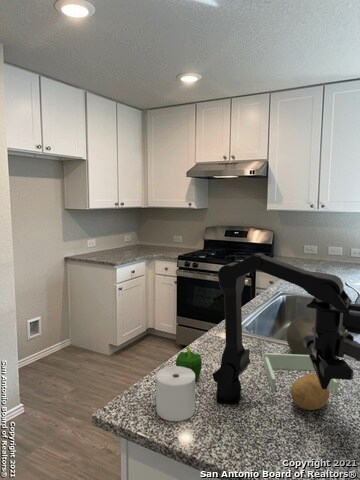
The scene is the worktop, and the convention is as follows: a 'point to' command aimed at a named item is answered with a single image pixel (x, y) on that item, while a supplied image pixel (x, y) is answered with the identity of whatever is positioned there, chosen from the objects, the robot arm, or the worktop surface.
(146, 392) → the worktop surface
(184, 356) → the bell pepper
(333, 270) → the worktop surface
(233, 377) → the robot arm
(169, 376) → the toilet tissue
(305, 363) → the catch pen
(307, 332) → the cantaloupe
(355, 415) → the worktop surface
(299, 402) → the potato
